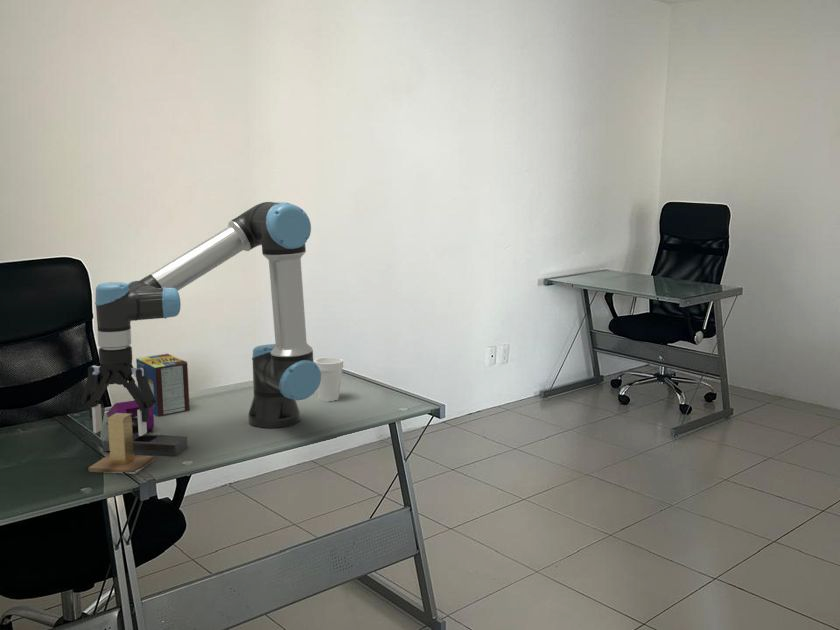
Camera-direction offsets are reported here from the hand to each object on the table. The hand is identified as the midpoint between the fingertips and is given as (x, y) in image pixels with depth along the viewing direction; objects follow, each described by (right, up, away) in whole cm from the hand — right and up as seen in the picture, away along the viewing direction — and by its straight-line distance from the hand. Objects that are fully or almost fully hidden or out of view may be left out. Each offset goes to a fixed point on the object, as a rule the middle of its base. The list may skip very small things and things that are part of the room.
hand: (120, 432), depth 191 cm
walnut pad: (0, -8, +2) cm, 9 cm away
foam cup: (+44, +1, +62) cm, 76 cm away
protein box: (-6, 0, +50) cm, 51 cm away
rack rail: (+2, -6, +13) cm, 15 cm away
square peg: (0, -7, +1) cm, 8 cm away
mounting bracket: (-10, -3, +32) cm, 34 cm away
